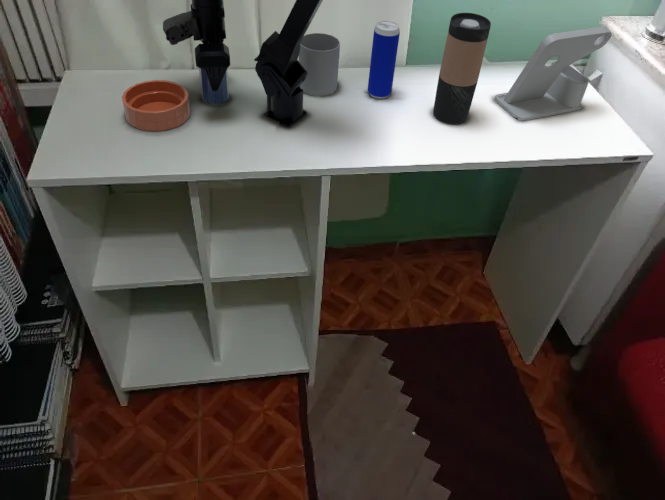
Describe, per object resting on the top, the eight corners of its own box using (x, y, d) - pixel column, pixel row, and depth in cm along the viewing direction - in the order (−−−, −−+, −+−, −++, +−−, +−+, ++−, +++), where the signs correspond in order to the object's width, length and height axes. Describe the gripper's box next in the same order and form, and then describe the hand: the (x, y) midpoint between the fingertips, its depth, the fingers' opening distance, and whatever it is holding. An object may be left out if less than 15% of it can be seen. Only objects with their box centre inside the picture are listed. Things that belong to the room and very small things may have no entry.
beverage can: (395, 92, 132) (405, 25, 122) (383, 102, 129) (392, 33, 119) (374, 85, 134) (382, 17, 124) (362, 94, 131) (369, 26, 121)
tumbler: (234, 98, 127) (231, 52, 120) (216, 108, 123) (213, 62, 116) (214, 89, 129) (211, 44, 122) (196, 99, 125) (191, 53, 118)
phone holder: (555, 86, 139) (583, 7, 126) (585, 109, 132) (617, 28, 120) (492, 98, 133) (513, 16, 121) (519, 122, 127) (545, 38, 114)
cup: (332, 98, 129) (335, 53, 122) (294, 92, 130) (295, 47, 123) (339, 79, 135) (343, 36, 128) (303, 74, 136) (304, 30, 129)
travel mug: (472, 111, 129) (496, 18, 115) (462, 129, 123) (485, 33, 110) (438, 102, 131) (457, 8, 117) (426, 118, 125) (445, 23, 112)
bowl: (203, 114, 122) (201, 93, 119) (158, 141, 114) (154, 120, 111) (159, 93, 126) (156, 73, 123) (112, 118, 119) (108, 97, 115)
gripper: (162, -18, 117) (172, 58, 128) (161, 23, 104) (172, 105, 115) (221, -19, 119) (226, 57, 130) (228, 22, 106) (232, 102, 117)
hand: (213, 79), depth 123 cm, fingers open, 9 cm apart
